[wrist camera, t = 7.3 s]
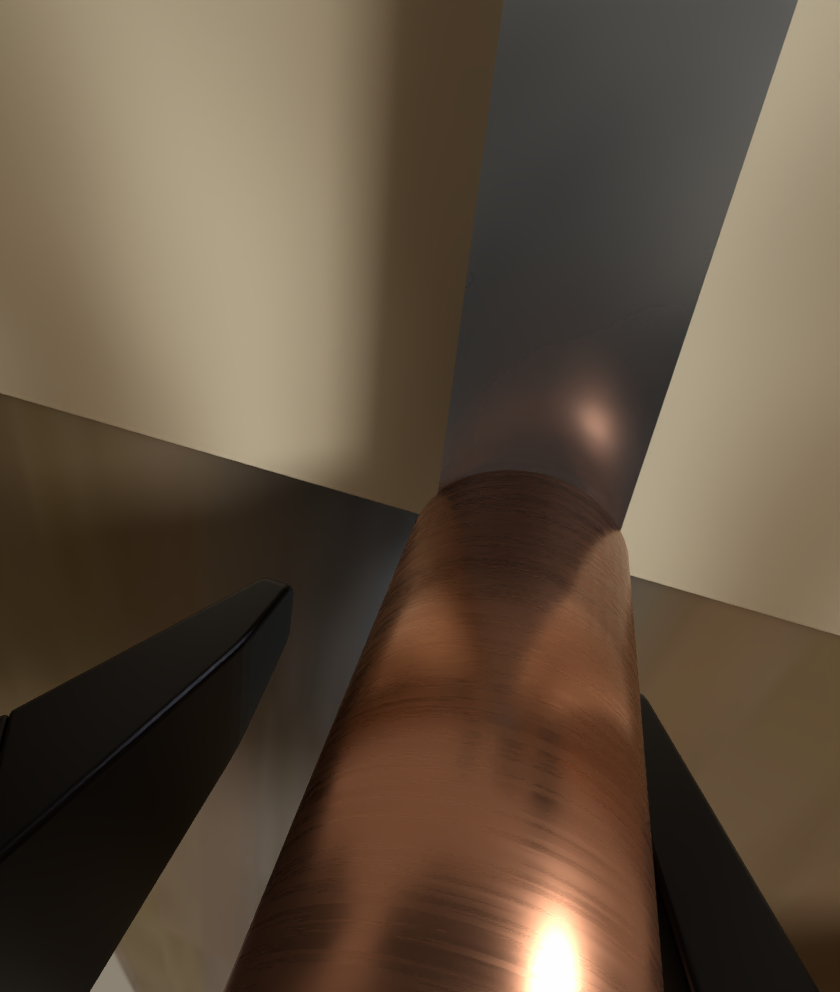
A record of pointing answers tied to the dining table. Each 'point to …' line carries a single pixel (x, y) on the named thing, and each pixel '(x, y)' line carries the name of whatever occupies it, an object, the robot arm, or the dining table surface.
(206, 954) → the dining table surface
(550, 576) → the lever
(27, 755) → the robot arm
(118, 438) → the dining table surface
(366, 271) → the base
